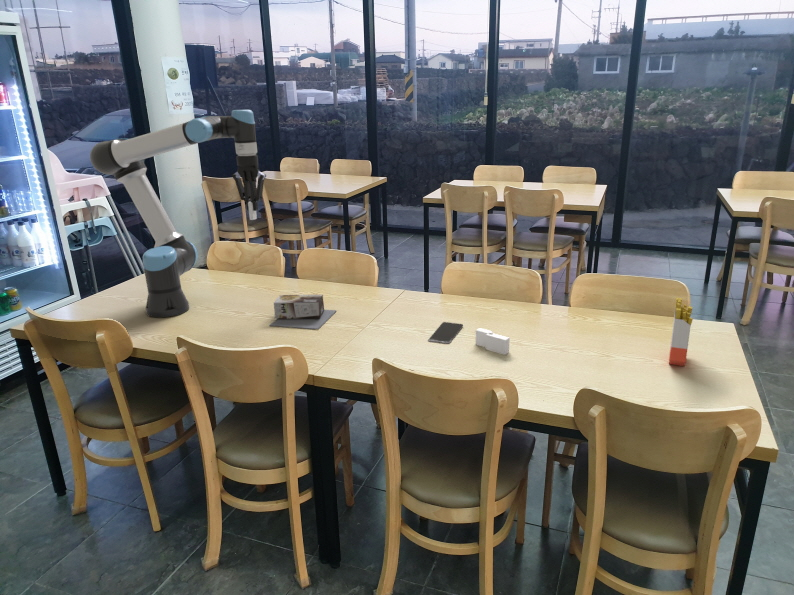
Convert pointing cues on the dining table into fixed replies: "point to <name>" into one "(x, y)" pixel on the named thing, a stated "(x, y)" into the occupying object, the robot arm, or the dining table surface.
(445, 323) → the smartphone
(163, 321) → the dining table surface
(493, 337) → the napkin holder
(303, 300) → the coffee box
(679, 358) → the french fries container
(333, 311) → the rubber mat
